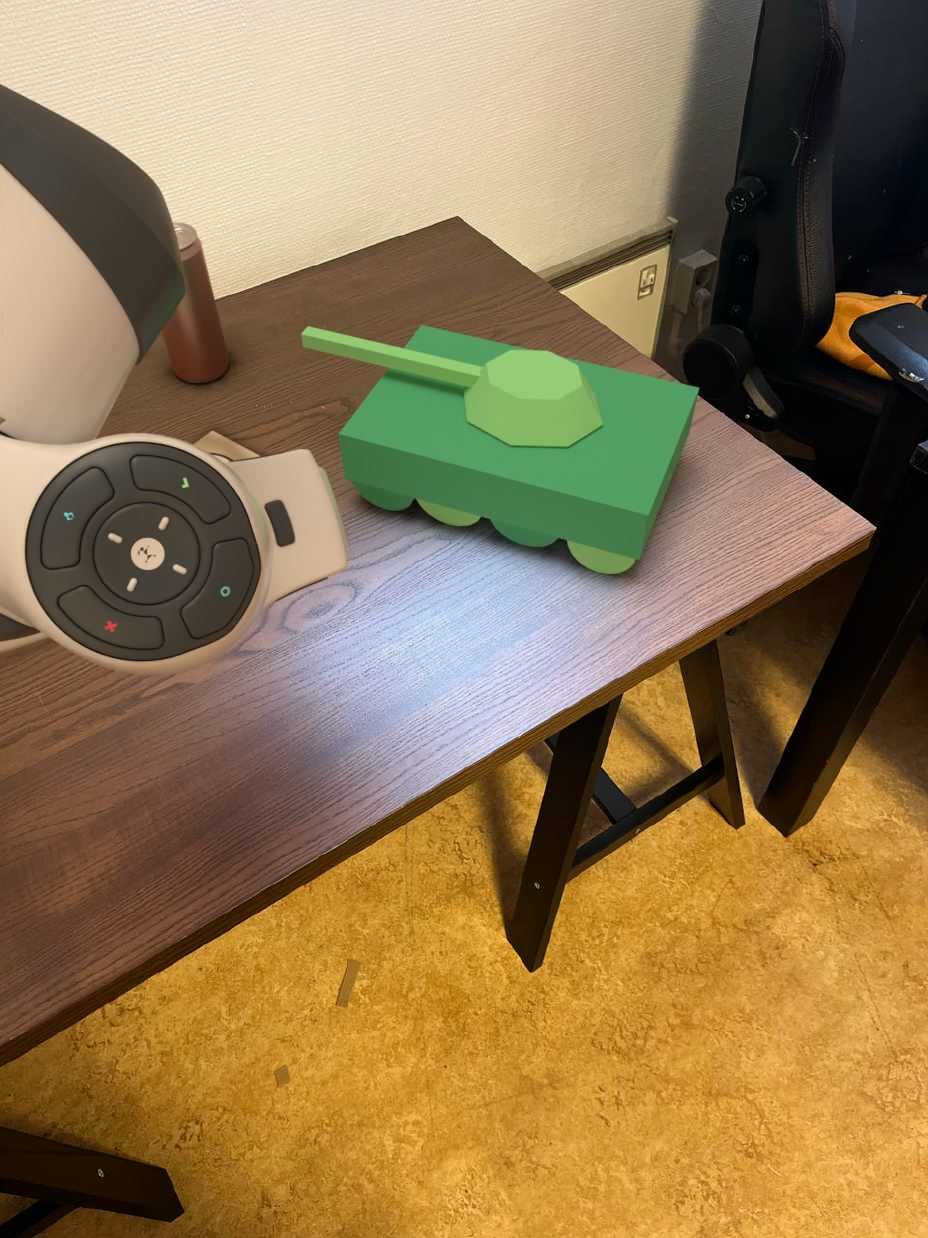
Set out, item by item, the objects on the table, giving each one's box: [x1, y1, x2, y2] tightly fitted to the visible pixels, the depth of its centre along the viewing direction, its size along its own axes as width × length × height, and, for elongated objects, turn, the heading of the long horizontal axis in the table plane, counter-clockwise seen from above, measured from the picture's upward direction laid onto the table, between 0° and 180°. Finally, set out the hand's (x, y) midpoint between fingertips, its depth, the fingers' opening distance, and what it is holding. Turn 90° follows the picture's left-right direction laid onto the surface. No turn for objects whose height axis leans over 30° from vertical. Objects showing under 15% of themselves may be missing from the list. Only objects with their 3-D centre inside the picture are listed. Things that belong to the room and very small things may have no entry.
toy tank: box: [300, 324, 700, 575], centre depth 85 cm, size 18×12×35 cm
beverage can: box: [161, 221, 230, 384], centre depth 95 cm, size 6×6×15 cm
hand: (165, 565), depth 58 cm, fingers closed on dot marker, 3 cm apart
